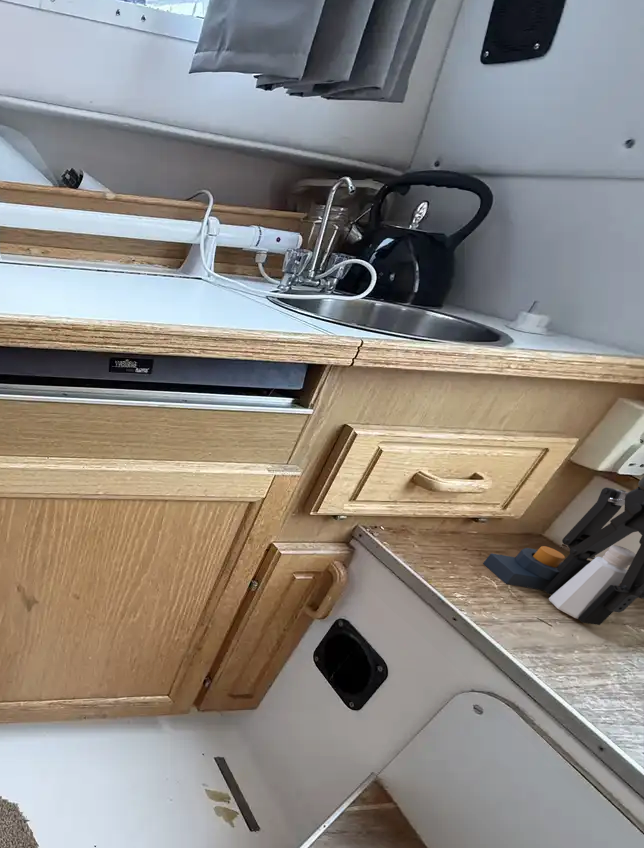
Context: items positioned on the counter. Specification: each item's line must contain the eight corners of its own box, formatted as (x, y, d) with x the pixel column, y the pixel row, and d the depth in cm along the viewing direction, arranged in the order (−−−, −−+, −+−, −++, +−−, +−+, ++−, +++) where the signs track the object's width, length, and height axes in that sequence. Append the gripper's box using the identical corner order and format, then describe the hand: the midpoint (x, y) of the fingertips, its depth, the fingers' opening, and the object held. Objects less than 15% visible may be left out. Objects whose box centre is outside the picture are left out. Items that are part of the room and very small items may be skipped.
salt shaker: (538, 595, 83) (590, 538, 78) (564, 595, 84) (616, 538, 79) (577, 622, 79) (634, 563, 73) (603, 621, 80) (661, 563, 74)
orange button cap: (544, 557, 87) (553, 547, 86) (561, 570, 85) (570, 559, 84) (527, 554, 87) (536, 544, 86) (542, 567, 85) (552, 556, 84)
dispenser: (548, 572, 91) (565, 554, 89) (580, 598, 86) (598, 578, 84) (480, 561, 90) (495, 542, 88) (508, 586, 85) (525, 566, 83)
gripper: (604, 437, 77) (500, 563, 89) (754, 510, 62) (603, 651, 73) (653, 446, 78) (543, 570, 89) (815, 521, 62) (655, 660, 74)
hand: (570, 606), depth 81 cm, fingers closed on salt shaker, 5 cm apart
